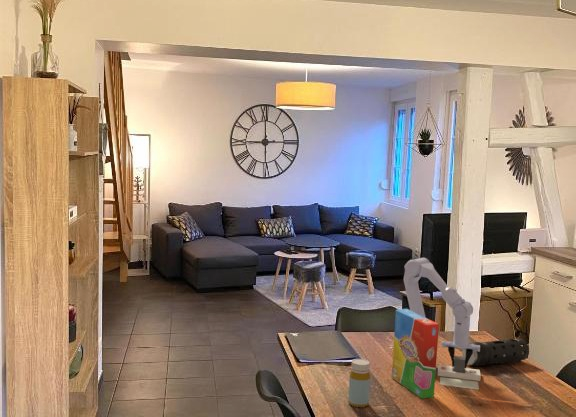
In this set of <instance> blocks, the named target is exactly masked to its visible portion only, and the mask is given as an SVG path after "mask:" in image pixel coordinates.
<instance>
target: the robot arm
mask: <svg viewBox="0 0 576 417" xmlns="http://www.w3.org/2000/svg"><path fill="white" fill-rule="evenodd" d="M421 278H427V279H428V280H429V281H430V283H432V284H433V285H434V286H435V287H436V289H438V290H439V291H440V292H441V297H442V299H443V301H444V302H446V304H447V305H448V306H449V307H450V308H451V309H452V314H453V317H454V326H453V341H443V340H442V341H441V346H440V347H441V348H447V351H448V353H449V356H450V360H451V366H452V367H454V356H455V354H456V352H455V349H458V350H459V349H460V350H463V349H466V356H465V368H468V367H467V366H468V361H469V359H470V357H471V356H472V354H473V350H474V351H478V352H480V345H474V344H469V343H470V341H469V339H470V329H471V328H470V326H471V325H470V324H471V316H472V315H473V312H474V307H473V305H472V303H471V302H469V301H466V300H465V298H462V296H461V295H460V294H459V293H458V290H457V289H456V288H454V287H451V286H448V285H447V282H445V281H444V280H443V278H442V277H441V276H440V274H439V273H438V272H437V270H436V269H435V266H434V265H433V263H432V262H430V260H429V259H428V258H426V257H420V258H416V259H410V260H408V261H407V262H406V263H405V264H404V275H403V284H404V287H405V292H406V297H407V302H408V307H409V310H411V311H413V312H415V313H417V314H419V315H421V316H423V317H425V318H427V317H426V313H425V309H424V304H423V300H422V296H421V291H420V288H419V280H420V279H421Z"/></svg>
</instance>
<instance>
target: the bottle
mask: <svg viewBox="0 0 576 417" xmlns="http://www.w3.org/2000/svg"><path fill="white" fill-rule="evenodd" d="M370 365H371V362H370V361H369V360H368V359H364V358H354V359H352V360H351V368H350V369H351V370H350V373H349V383H348V400H347V401H348V404H349V405H350V406H351V405H352V406H351V407H353V406H355V407H354V408H358V407H363V408H366V407H367V406H369V403H370V389H371V373H370V369H371V368H370ZM365 406H366V407H365Z"/></svg>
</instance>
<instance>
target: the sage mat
mask: <svg viewBox="0 0 576 417" xmlns="http://www.w3.org/2000/svg"><path fill="white" fill-rule="evenodd" d="M439 378H440V379H439V385H441V386H444V387H445V386H447V387H454V388H463V389H470V390H478V391H479V390H480V388H479V381H476V380H468V379H460V378H452V377H444V376H439Z"/></svg>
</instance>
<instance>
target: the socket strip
mask: <svg viewBox="0 0 576 417" xmlns="http://www.w3.org/2000/svg"><path fill="white" fill-rule="evenodd" d="M453 370H454V367H452V365H445V364H444V365H443V364H437V377H444V378H452V379H460V380H468V381H476V382H481V378H482V377H481V371H480V369H475V368H468V367H466V368H465V371H464V373H460V372H453Z"/></svg>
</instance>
